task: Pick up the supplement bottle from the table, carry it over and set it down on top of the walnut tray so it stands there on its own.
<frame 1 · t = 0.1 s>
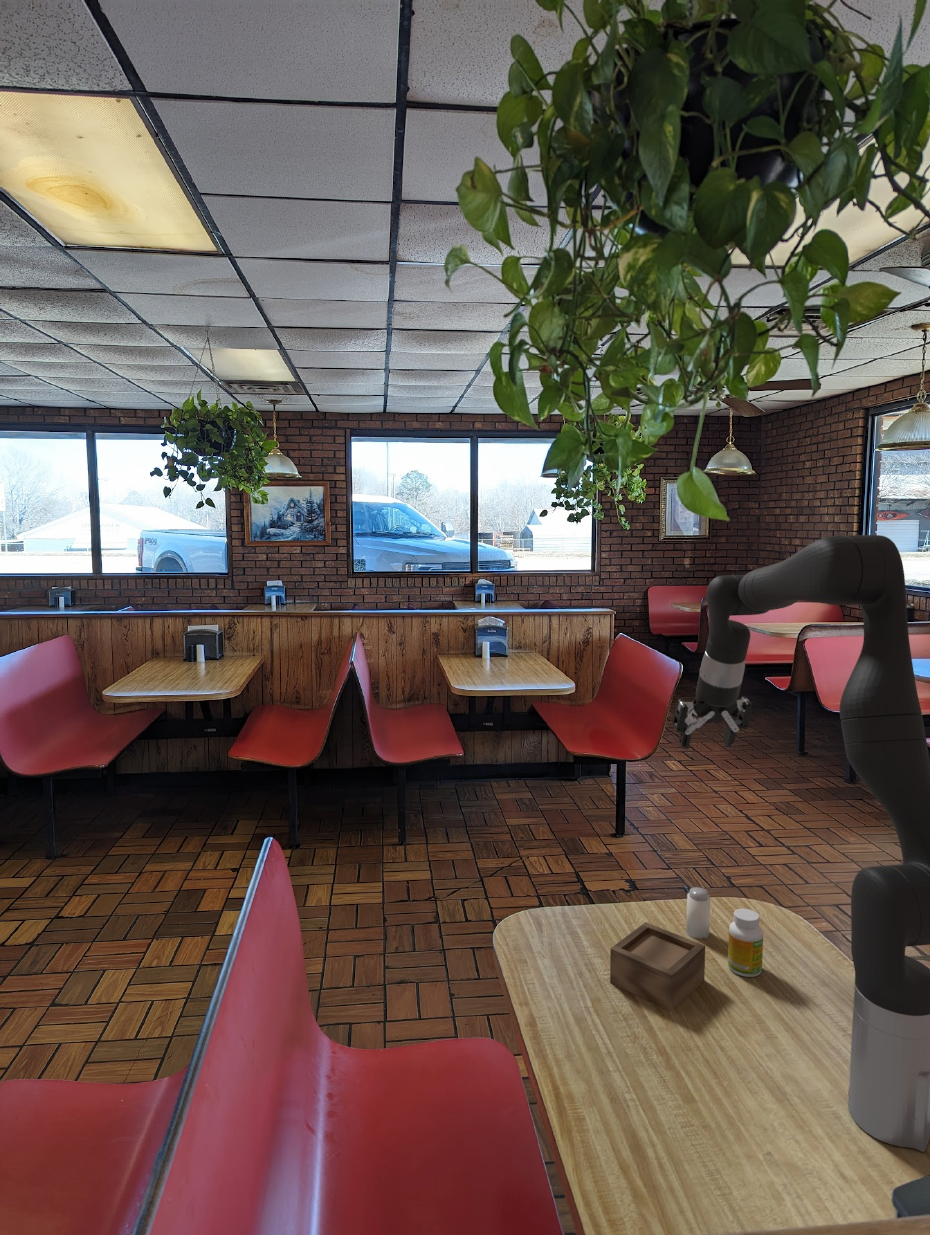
hand: (705, 745, 148), 31 cm above the table, tool tilted 20°, fingers open, 8 cm apart
supplement bottle: (744, 969, 128), on the table
walnut tray: (657, 981, 125), on the table
sugar shaker: (697, 932, 139), on the table
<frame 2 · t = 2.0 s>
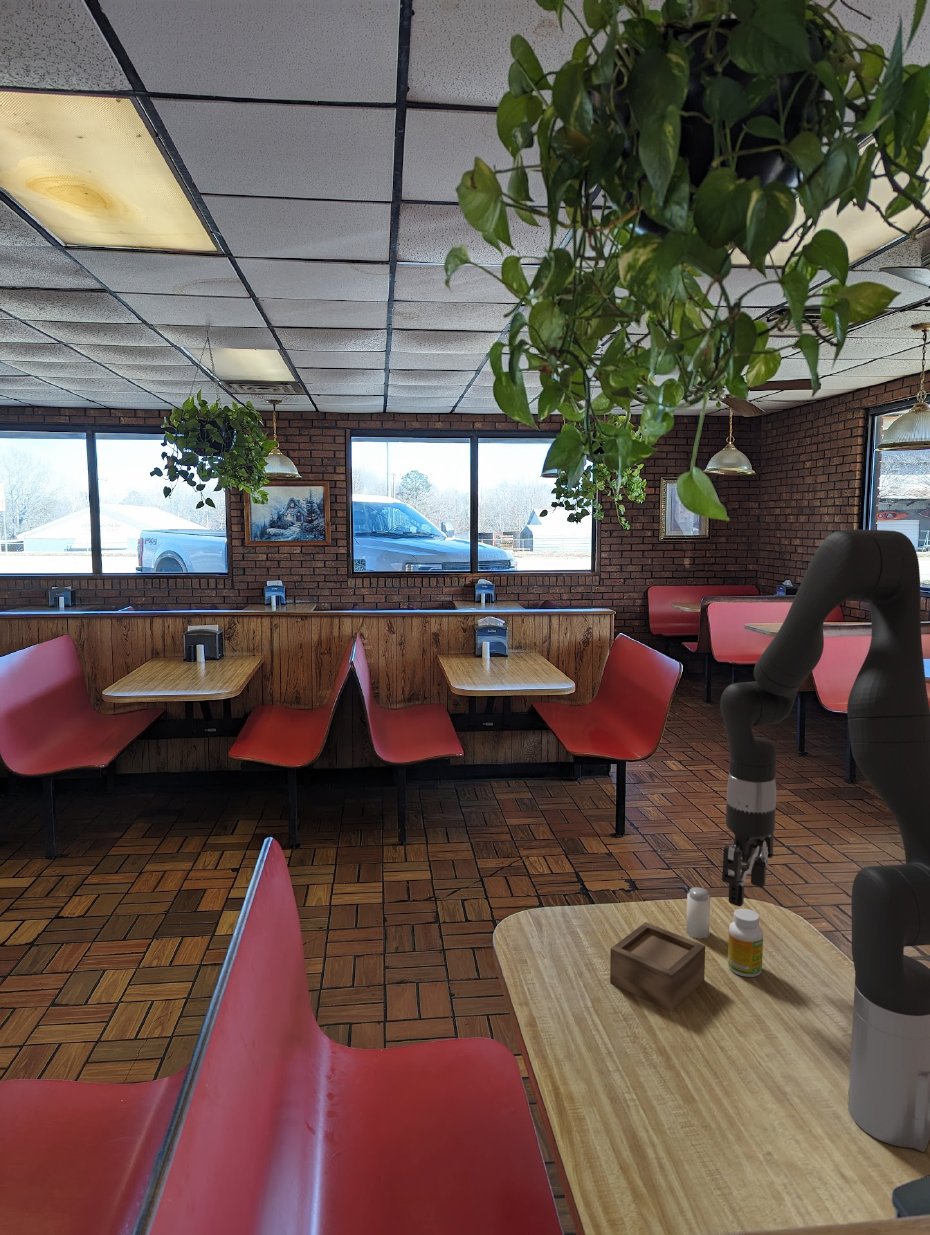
hand: (747, 894, 127), 13 cm above the table, tool pointing down, fingers open, 8 cm apart
nothing on the table moved.
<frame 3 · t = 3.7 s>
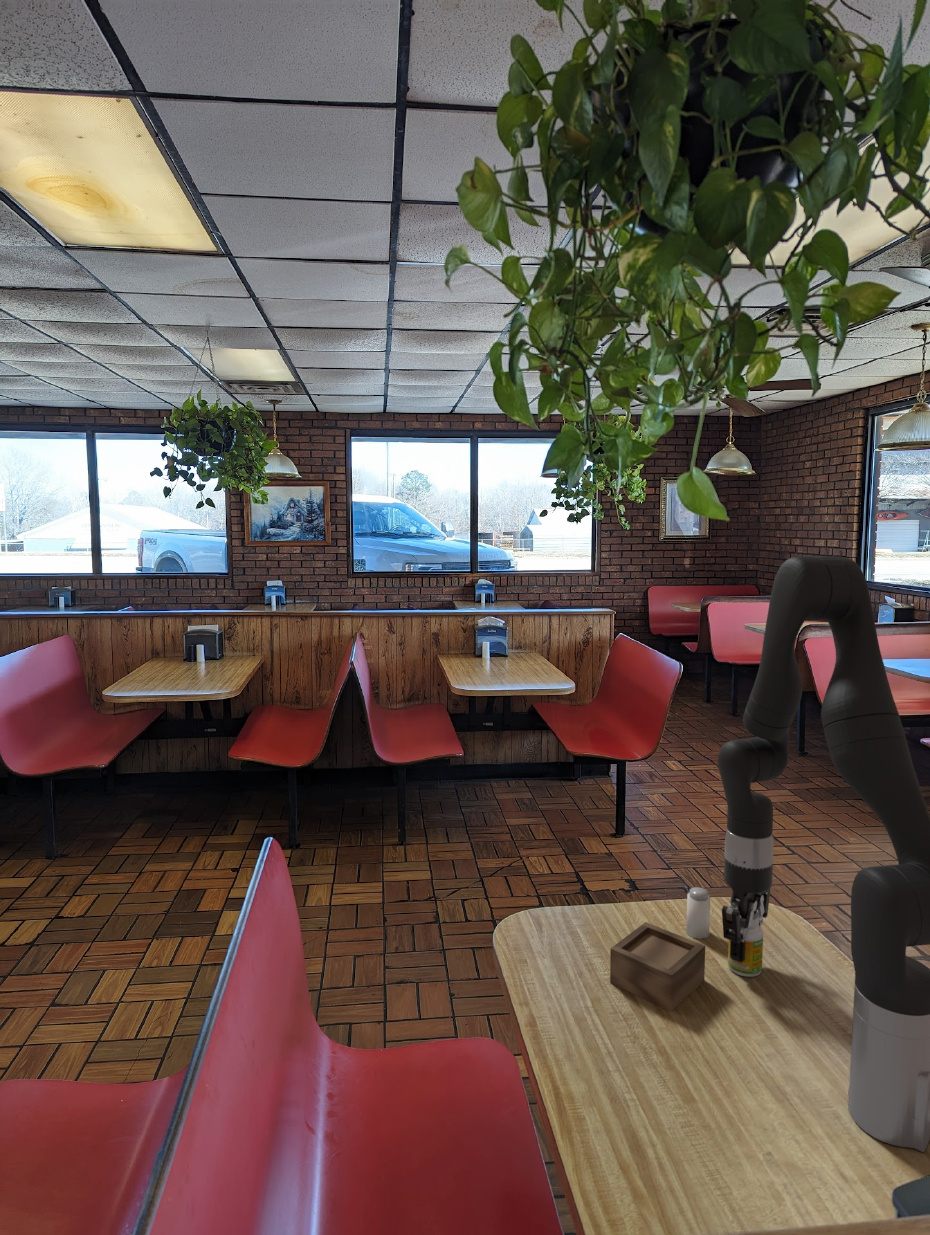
hand: (745, 951, 128), 3 cm above the table, tool pointing down, fingers closed on supplement bottle, 5 cm apart
supplement bottle: (744, 969, 128), on the table, touching gripper
everything else where it was.
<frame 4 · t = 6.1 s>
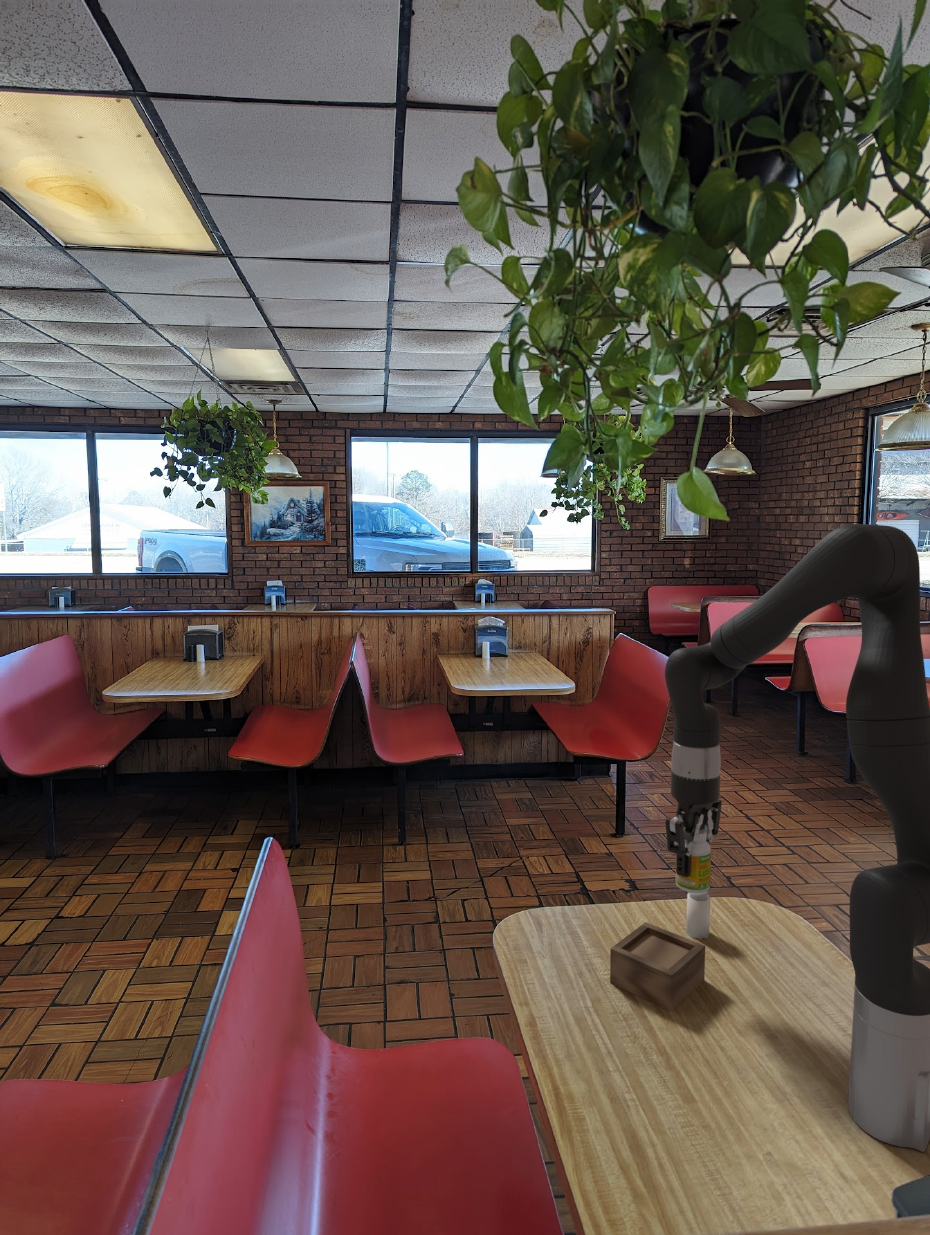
hand: (692, 868, 124), 19 cm above the table, tool pointing down, fingers closed on supplement bottle, 5 cm apart
supplement bottle: (692, 887, 125), point 15 cm above the table, touching gripper
everything else where it was.
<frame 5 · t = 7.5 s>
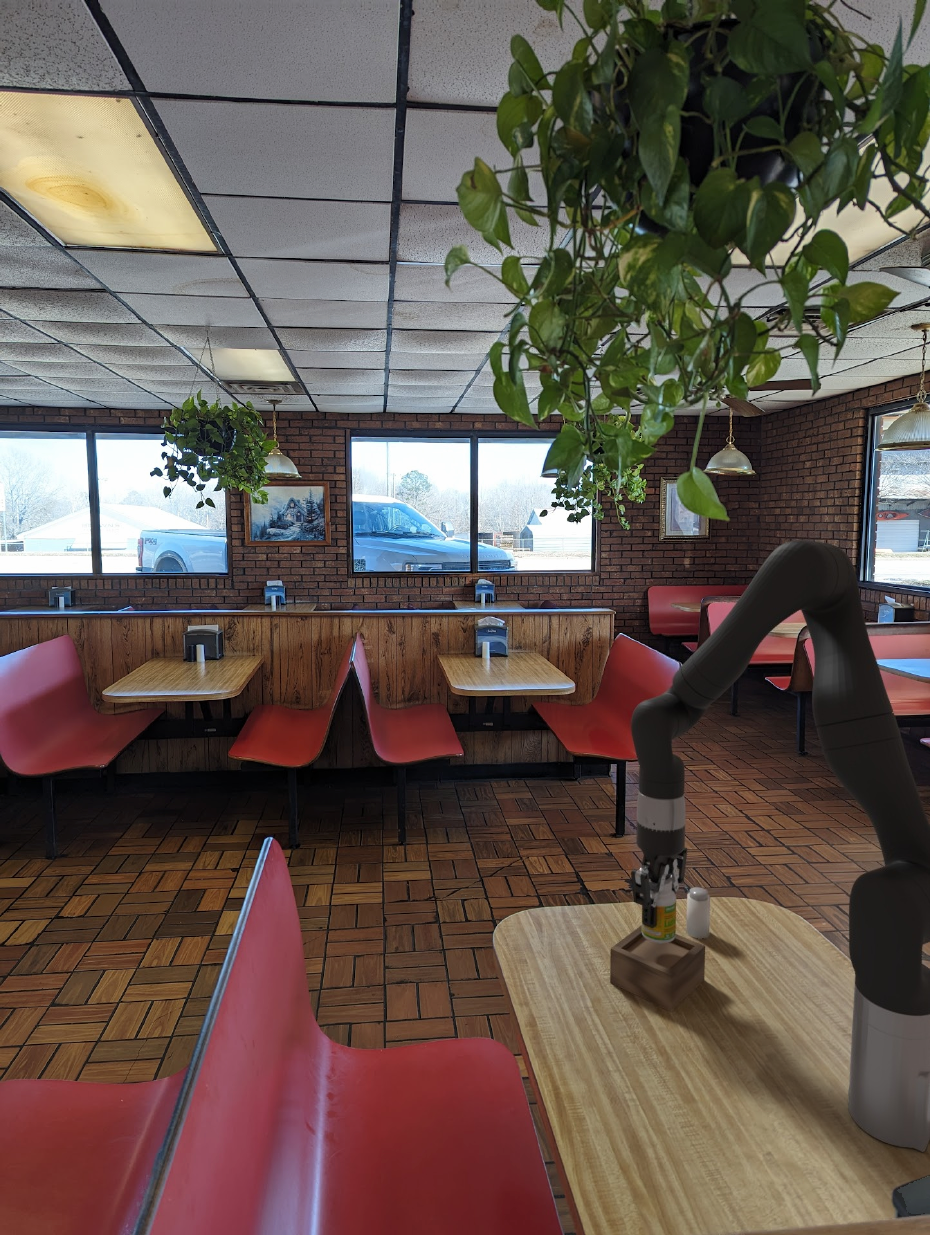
hand: (659, 918, 124), 11 cm above the table, tool pointing down, fingers closed on supplement bottle, 5 cm apart
supplement bottle: (658, 936, 124), point 8 cm above the table, touching gripper
everything else where it was.
when the fingers open (10 cm above the table, at t = 8.5 s): supplement bottle drops 2 cm, resting on walnut tray.
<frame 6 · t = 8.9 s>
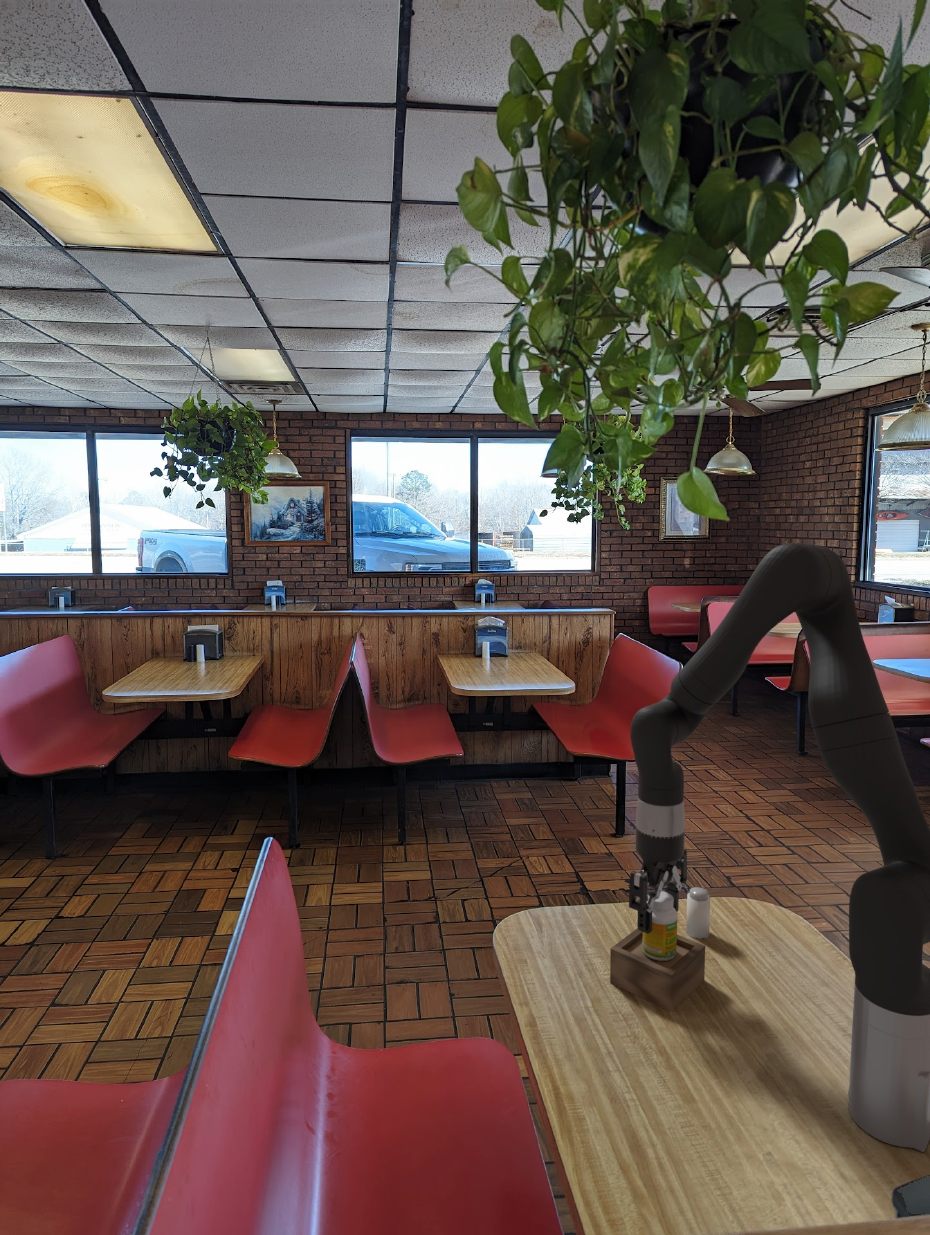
hand: (658, 920, 124), 11 cm above the table, tool pointing down, fingers open, 8 cm apart
supplement bottle: (659, 953, 124), point 5 cm above the table, touching walnut tray
everything else where it was.
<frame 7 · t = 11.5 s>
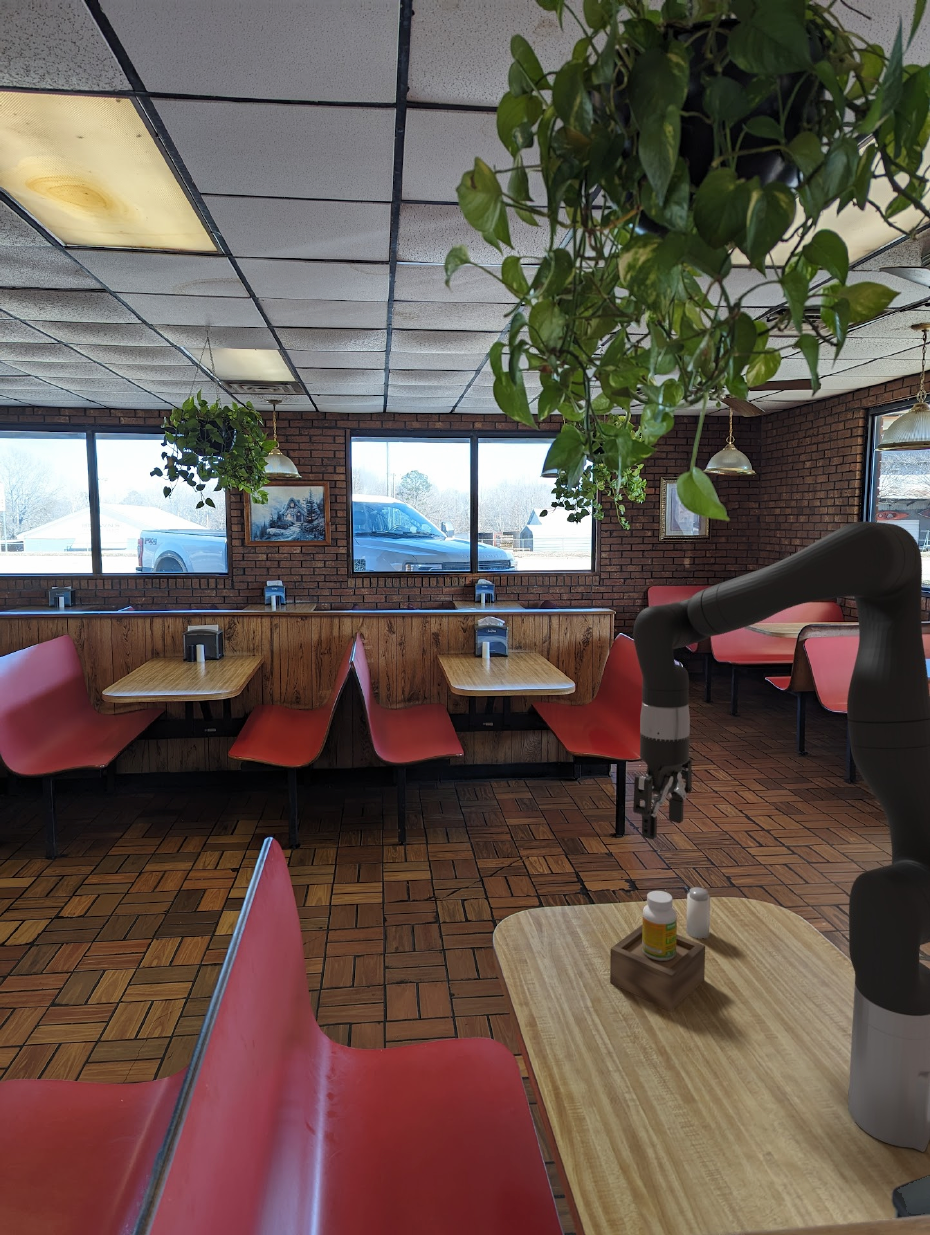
hand: (663, 829, 122), 26 cm above the table, tool pointing down, fingers open, 8 cm apart
nothing on the table moved.
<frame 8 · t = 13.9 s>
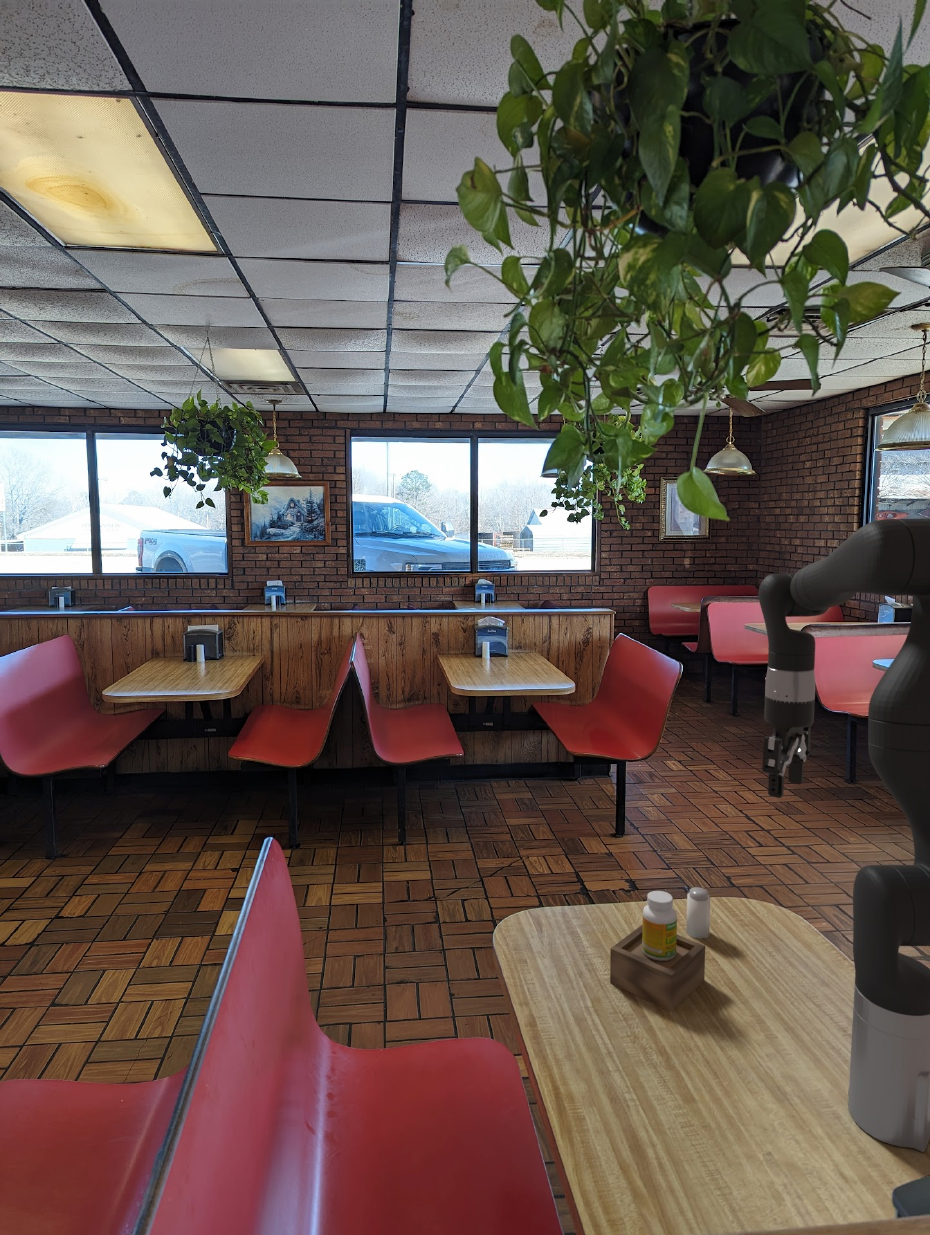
hand: (785, 789, 127), 30 cm above the table, tool pointing down, fingers open, 8 cm apart
nothing on the table moved.
at the end: supplement bottle inside the target area on the walnut tray (0.2 cm from its centre), point 4.8 cm above the walnut tray's base; supplement bottle tilted 0°; supplement bottle touching walnut tray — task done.
